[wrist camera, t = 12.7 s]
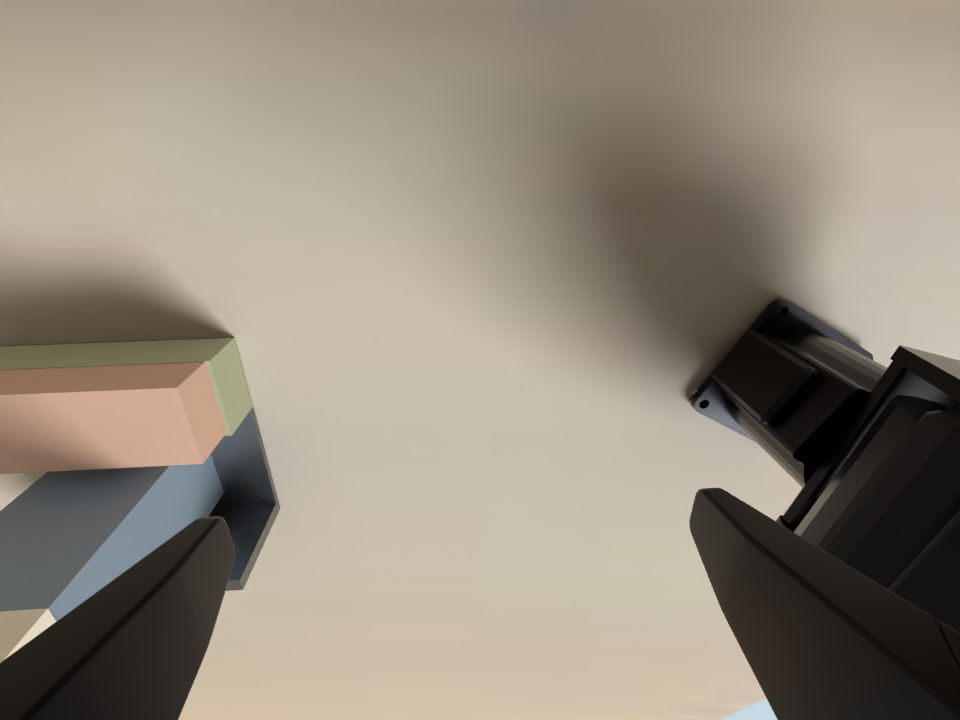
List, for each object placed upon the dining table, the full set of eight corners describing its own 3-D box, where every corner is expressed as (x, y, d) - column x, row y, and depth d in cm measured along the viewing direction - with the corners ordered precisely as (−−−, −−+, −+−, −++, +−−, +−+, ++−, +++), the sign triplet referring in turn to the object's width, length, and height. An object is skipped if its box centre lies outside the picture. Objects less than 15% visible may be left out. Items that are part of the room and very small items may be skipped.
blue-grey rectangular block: (202, 426, 22) (-52, 724, 11) (225, 493, 24) (26, 808, 13) (92, 432, 22) (-284, 743, 11) (123, 499, 24) (-171, 825, 12)
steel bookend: (252, 406, 22) (203, 475, 18) (279, 508, 25) (243, 589, 20) (35, 416, 22) (-73, 489, 17) (87, 518, 24) (6, 604, 20)
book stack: (234, 337, 21) (182, 386, 17) (252, 406, 22) (209, 466, 18) (-1, 346, 20) (-114, 398, 16) (35, 416, 22) (-60, 480, 18)
